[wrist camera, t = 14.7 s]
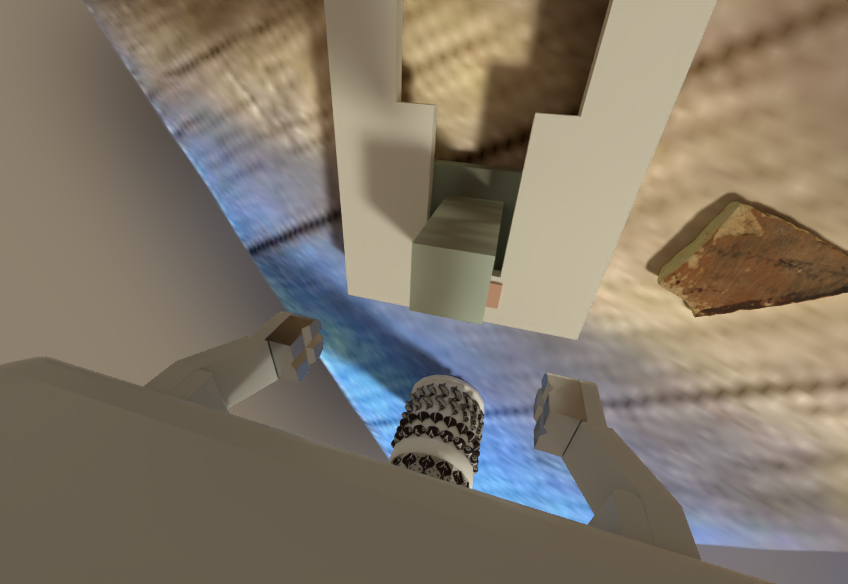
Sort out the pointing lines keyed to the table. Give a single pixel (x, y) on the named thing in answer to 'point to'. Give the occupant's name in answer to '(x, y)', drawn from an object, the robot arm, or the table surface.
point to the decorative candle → (441, 430)
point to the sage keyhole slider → (462, 239)
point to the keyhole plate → (543, 167)
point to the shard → (753, 264)
